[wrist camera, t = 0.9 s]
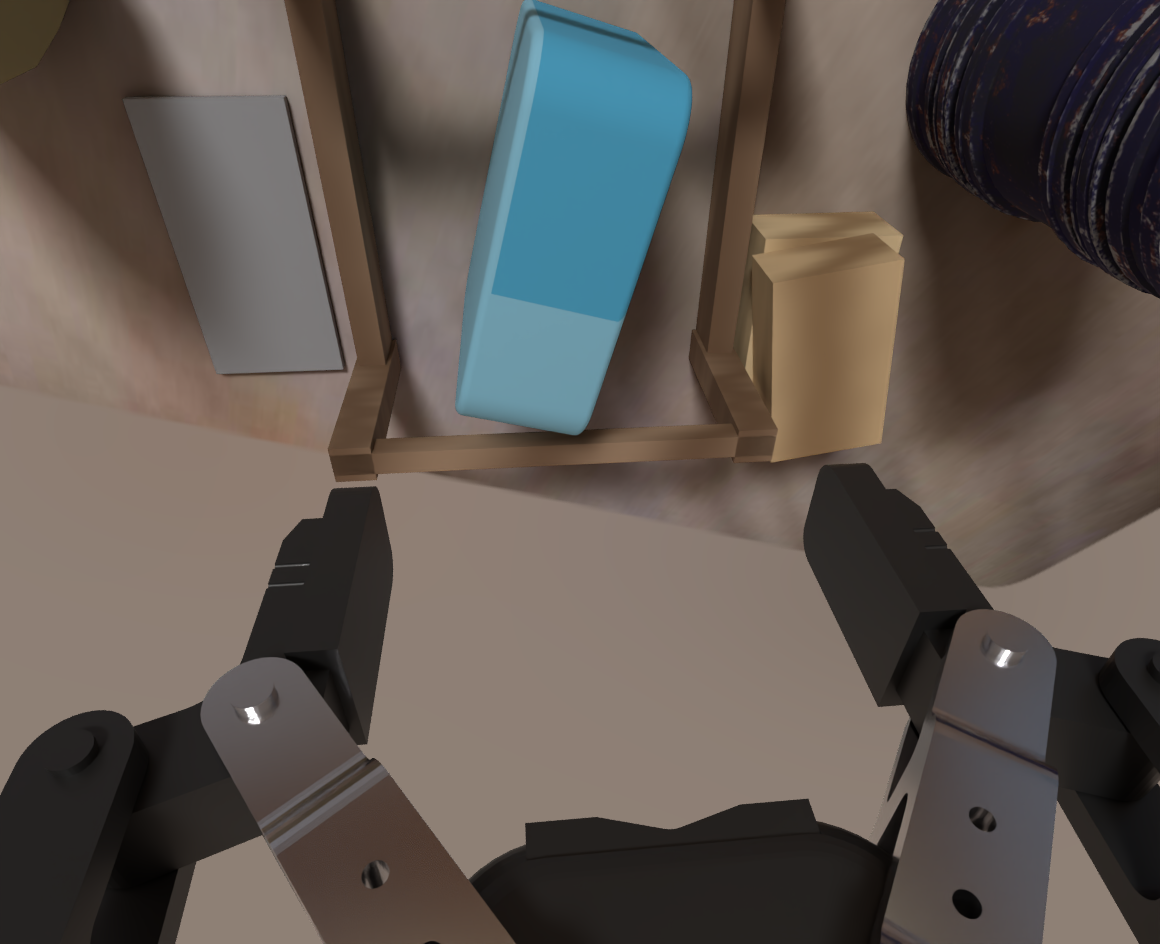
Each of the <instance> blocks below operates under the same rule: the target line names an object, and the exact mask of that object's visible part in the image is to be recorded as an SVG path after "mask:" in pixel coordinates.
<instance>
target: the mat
mask: <svg viewBox="0 0 1160 944" xmlns="http://www.w3.org/2000/svg"><path fill="white" fill-rule="evenodd" d="M122 100H123V103H124V106H125V109H126V112H127V115H128V117H129V120H130V123H131V126H132V129H133V132H134V135H135V138H136V141H137V144H138V147H139V149H140V152H141V155H142V158H143V161H144V164H145V167H146V170H147V173H148V176H149V179H150V181H151V184H152V187H153V190H154V193H155V196H156V199H157V202H158V205H159V208H160V211H161V213H162V216H163V219H164V222H165V225H166V228H167V231H168V234H169V237H170V240H171V243H172V245H173V248H174V251H175V254H176V257H177V260H178V263H179V266H180V269H181V272H182V275H183V277H184V280H185V283H186V286H187V289H188V292H189V295H190V298H191V301H192V304H193V307H194V309H195V312H196V315H197V318H198V321H199V324H200V327H201V330H202V333H203V336H204V339H205V341H206V344H207V347H208V350H209V353H210V356H211V359H212V362H213V365H214V368H215V371H216V373H217V374H232V373H259V372H286V371H314V370H341V369H344V366H345V364H344V360H343V355H342V351H341V346H340V341H339V337H338V332H337V328H336V323H335V319H334V314H333V309H332V305H331V300H330V296H329V291H328V286H327V282H326V277H325V273H324V268H323V263H322V259H321V254H320V250H319V245H318V240H317V236H316V231H315V227H314V222H313V218H312V213H311V208H310V204H309V199H308V195H307V190H306V185H305V181H304V176H303V172H302V167H301V162H300V158H299V153H298V149H297V144H296V139H295V135H294V130H293V126H292V121H291V116H290V112H289V107H288V103H287V98H286V96H178V97H125V98H123V99H122Z"/></svg>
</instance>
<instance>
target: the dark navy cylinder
mask: <svg viewBox="0 0 1160 944" xmlns="http://www.w3.org/2000/svg"><path fill="white" fill-rule="evenodd" d="M906 110H907V118H908V124H909V127H910V131H911V134H912V137H913V139H914V141H915V143H916V145H917V147H918V149H919V151H920V152H921V154H922V155H923V156H924V157H925V158H926V160H927V161H928V162H929V163H930V164H931V165H933V166H934V167H935V168H936V169H938V170H939V171H940V172H942V173H944V174H945V175H947V176H949V177H951V178H953V179H954V180H955V181H956V182H957V183H958V184H959V185H960V186H962V187H963V188H964V189H965V190H967V191H968V192H970V193H972V194H973V195H975V196H976V197H978V198H980V199H982V200H984V201H985V202H986V203H987V204H989V205H990V206H991V207H993V208H994V209H997V210H999V211H1001V212H1003V213H1005V214H1007V215H1012V216H1016V217H1018V218H1022V219H1026V220H1030V221H1034V222H1043V223H1044V224H1046V225H1048V226H1050V227H1051V228H1052V230H1053V231H1054V232H1055V234H1056V235H1057V236H1058V238H1059V239H1060V240H1061V241H1062V242H1064V243H1065V245H1066V246H1067V247H1068V249H1070V250H1071V251H1072V252H1073V253H1074V254H1076V255H1077V256H1078V257H1079V258H1081V259H1082V260H1084V261H1086V262H1088V263H1090V264H1092V265H1094V266H1097V267H1100V268H1101V269H1102V270H1103V271H1104V272H1106V273H1108V274H1110V275H1111V276H1113V277H1114V278H1116V279H1118V280H1120V281H1122V282H1123V283H1125V284H1126V285H1129V286H1131V287H1133V288H1135V289H1137V290H1139V291H1141V292H1144V293H1149V294H1152V295H1154V296H1156V297H1158V298H1160V0H939V1H938V2H937V4H936V6H935V8H934V9H933V11H932V13H931V14H930V16H929V18H928V19H927V21H926V23H925V26H924V28H923V30H922V32H921V35H920V37H919V39H918V41H917V44H916V47H915V50H914V54H913V57H912V60H911V63H910V68H909V74H908V79H907V87H906Z"/></svg>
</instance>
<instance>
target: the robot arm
mask: <svg viewBox="0 0 1160 944" xmlns="http://www.w3.org/2000/svg"><path fill="white" fill-rule="evenodd" d="M803 539H804V549H805V554H806V557H807V559H808V562H809V564H810V566H811V568H812V570H813V572H814V575H815V576H816V579H817V581H818V583H819V585H820V587H821V589H822V591H823V593H824V595H825V597H826V599H827V602H828V604H829V606H830V608H831V610H832V612H833V614H834V616H835V618H836V620H837V622H838V624H839V626H840V628H841V631H842V633H843V634H844V637H845V639H846V641H847V643H848V645H849V647H850V649H851V651H852V653H853V655H854V658H855V659H856V662H857V664H858V666H859V668H860V670H861V672H862V674H863V676H864V678H865V680H866V683H867V685H868V687H869V689H870V691H871V693H872V695H873V697H874V699H875V701H876V703H877V705H878V707H883V706H896V705H904V706H905V708H906V710H907V712H908V714H909V716H910V718H909V720H908V722H907V724H906V726H905V729H904V732H903V735H902V739H901V742H900V745H899V748H898V752H897V755H896V759H895V762H894V765H893V768H892V772H891V775H890V778H889V782H888V785H887V789H886V792H885V795H884V798H883V802H882V805H881V809H880V812H879V815H878V817H877V821H876V823H875V826H874V828H873V831H872V833H871V836H870V838H869V840H866V839H864V838H862V837H861V836H859V835H857V834H854V833H852V832H849V831H847V830H845V829H842V828H839V827H836V826H833V825H829V824H826V823H823V822H818V821H816V819H815V817H814V814H813V811H812V808H811V805H810V803H809V799H800V800H788V801H776V802H765V803H754V804H742V805H738V806H735V807H733V808H730V809H728V810H725V811H722V812H720V813H717V814H715V815H712V816H709V817H707V818H704V819H701V820H699V821H696V822H694V823H691V824H688V825H686V826H683V827H681V828H677V829H662V828H656V827H650V826H645V825H639V824H633V823H627V822H621V821H615V820H610V819H604V818H598V817H592V818H581V819H569V820H557V821H546V822H535V823H526V824H525V827H526V845H523V846H521V847H518V848H516V849H513V850H510V851H509V852H507V853H505V854H503V855H501V856H499V857H497V858H495V859H494V860H492V861H491V862H490V863H488V864H487V865H486V866H484V867H483V868H481V869H480V870H479V871H478V872H476V873H475V874H474V875H473V876H472V877H471V878H470V879H467V878H466V876H465V875H464V873H463V872H462V871H461V869H460V868H459V867H458V865H457V864H456V863H455V861H454V860H453V859H452V857H451V856H450V855H449V853H448V852H447V851H446V849H445V848H444V847H443V845H442V844H441V842H440V841H439V840H438V838H437V837H436V836H435V834H434V833H433V832H432V831H431V829H430V828H429V827H428V825H427V824H426V822H425V821H424V820H423V819H422V817H421V816H420V814H419V813H418V812H417V810H416V809H415V808H414V806H413V805H412V804H411V802H410V801H409V800H408V798H407V797H406V796H405V794H404V793H403V792H402V790H401V789H400V788H399V786H398V785H397V783H396V782H395V781H394V779H393V778H392V777H391V775H390V774H389V773H388V772H387V770H386V769H385V768H384V767H383V766H382V764H381V763H380V762H379V761H378V760H376V759H375V758H372V759H371V760H369V759H368V758H367V757H366V756H365V755H364V754H363V753H362V751H361V750H360V748H359V747H358V746H357V745H363V744H367V742H368V735H369V729H370V723H371V716H372V710H373V703H374V697H375V690H376V684H377V678H378V671H379V665H380V659H381V652H382V646H383V639H384V633H385V627H386V620H387V614H388V608H389V601H390V594H391V588H392V581H393V559H392V550H391V545H390V541H389V536H388V531H387V526H386V522H385V517H384V512H383V507H382V502H381V498H380V494H379V491H378V489H377V487H376V486H375V487H355V488H336V489H332V490H331V492H330V495H329V498H328V502H327V505H326V509H325V512H324V516H323V518H318V519H317V518H316V519H302V520H301V521H300V522H299V523H298V525H297V526H296V527H295V528H294V529H293V530H292V531H291V532H290V533H289V534H288V536H287V537H286V538H285V539H284V540H283V542H282V545H281V548H280V551H279V553H278V556H277V560H276V562H275V569H273V571H272V574H271V577H270V580H269V583H268V585H269V587H268V588H267V589H266V591H265V595H264V597H263V601H262V603H261V606H260V609H259V612H258V615H257V618H256V621H255V624H254V627H253V629H252V633H251V635H250V638H249V641H248V644H247V647H246V650H245V653H244V656H243V659H242V661H241V663H240V665H238V666H237V667H235V668H233V669H231V670H230V671H228V672H227V673H226V674H224V675H223V676H222V677H220V678H219V679H218V680H217V681H216V682H215V684H214V685H213V686H212V687H211V688H210V690H209V691H208V693H207V694H206V697H205V698H204V700H203V701H202V702H200V703H198V704H196V705H194V706H192V707H189V708H187V709H184V710H181V711H178V712H176V713H173V714H169V715H167V716H163V717H160V718H157V719H154V720H152V721H149V722H146V723H143V724H140V725H137V726H134V727H133V726H132V725H131V723H130V721H129V720H128V719H127V718H126V717H125V716H123V715H121V714H119V713H116V712H113V711H106V710H101V711H100V710H98V711H90V712H85V713H82V714H78V715H75V716H72V717H70V718H68V719H65V720H63V721H61V722H60V723H58V724H56V725H54V726H53V727H51V728H50V729H48V730H47V731H45V732H44V733H43V734H41V735H40V736H39V737H38V738H36V740H34V741H33V742H32V743H31V745H29V746H28V747H27V749H26V750H25V751H24V752H23V754H22V755H21V756H20V758H19V760H18V762H17V763H16V765H15V767H14V769H13V771H12V773H11V775H10V777H9V779H8V781H7V783H6V785H5V787H4V789H3V791H2V793H1V795H0V944H175V942H176V938H177V934H178V930H179V927H180V922H181V919H182V915H183V911H184V907H185V903H186V899H187V896H188V892H189V888H190V884H191V880H192V876H193V872H194V868H195V865H196V861H199V860H201V859H204V858H206V857H209V856H211V855H214V854H216V853H219V852H221V851H224V850H226V849H229V848H231V847H234V846H236V845H238V844H241V843H243V842H246V841H248V840H251V839H253V838H255V837H258V836H261V835H263V837H264V839H265V841H266V842H267V844H268V846H269V848H270V850H271V852H272V853H273V855H274V857H275V859H276V860H277V862H278V864H279V866H280V868H281V869H282V871H283V873H284V875H285V876H286V878H287V880H288V882H289V884H290V886H291V887H292V889H293V891H294V893H295V894H296V896H297V898H298V900H299V902H300V903H301V905H302V907H303V909H304V911H305V912H306V914H307V916H308V918H309V920H310V921H311V923H312V925H313V926H314V928H315V930H316V932H317V934H318V936H319V937H320V939H321V941H322V943H323V944H1042V940H1043V930H1044V920H1045V911H1046V901H1047V891H1048V882H1049V872H1050V862H1051V851H1052V842H1053V833H1054V822H1055V813H1056V804H1057V801H1058V802H1059V804H1060V806H1061V808H1062V809H1063V811H1064V813H1065V814H1066V816H1067V818H1068V820H1069V821H1070V823H1071V825H1072V827H1073V829H1074V830H1075V832H1076V834H1077V835H1078V837H1079V839H1080V841H1081V843H1082V844H1083V846H1084V848H1085V850H1086V851H1087V853H1088V855H1089V857H1090V858H1091V860H1092V862H1093V864H1094V865H1095V867H1096V869H1097V871H1098V872H1099V874H1100V876H1101V878H1102V879H1103V881H1104V883H1105V885H1106V886H1107V888H1108V890H1109V892H1110V894H1111V895H1112V897H1113V899H1114V901H1115V902H1116V904H1117V906H1118V907H1119V909H1120V911H1121V913H1122V914H1123V916H1124V918H1125V920H1126V922H1127V923H1128V925H1129V927H1130V929H1131V930H1132V932H1133V934H1134V936H1135V937H1136V939H1137V941H1138V943H1139V944H1160V786H1159V785H1158V784H1157V783H1158V782H1159V781H1160V641H1158V640H1153V639H1146V638H1135V639H1130V640H1126V641H1124V642H1122V643H1121V644H1120V645H1119V646H1118V647H1117V648H1116V649H1115V651H1114V652H1113V654H1112V655H1111V656H1110V658H1105V657H1099V656H1093V655H1089V654H1084V653H1078V652H1073V651H1068V650H1062V649H1058V648H1054V647H1052V646H1051V644H1050V643H1049V642H1048V640H1047V639H1046V638H1045V637H1044V636H1043V635H1042V634H1041V633H1040V632H1039V631H1038V630H1037V629H1036V628H1034V627H1033V626H1031V625H1030V624H1029V623H1027V622H1025V621H1024V620H1022V619H1020V618H1018V617H1015V616H1013V615H1011V614H1007V613H1005V612H1001V611H996V610H994V609H993V608H992V607H991V605H990V604H989V602H988V601H987V600H986V599H985V597H984V595H983V594H982V593H981V591H980V590H979V588H978V587H977V586H976V584H975V583H974V581H973V580H972V579H971V577H970V576H969V574H968V573H967V572H966V570H965V569H964V567H963V566H962V565H961V563H960V562H959V560H958V559H957V558H956V556H955V555H954V553H953V552H952V551H951V549H947V544H946V542H945V541H944V540H943V538H942V537H941V535H940V534H939V533H938V532H935V527H934V526H933V524H932V523H931V521H930V520H929V519H928V517H927V516H926V514H925V513H924V512H923V510H922V509H921V507H920V506H918V505H917V504H916V503H914V502H913V501H912V500H910V499H909V498H908V497H906V496H905V495H904V494H902V493H901V492H899V491H898V490H897V489H885V487H884V486H883V484H882V483H881V481H880V480H879V478H878V477H877V475H876V474H875V472H874V471H873V469H872V468H871V467H870V466H869V465H868V464H866V463H856V464H836V465H825V466H823V467H822V468H821V469H820V471H819V474H818V477H817V481H816V485H815V489H814V492H813V496H812V500H811V504H810V507H809V511H808V515H807V519H806V522H805V527H804V535H803Z"/></svg>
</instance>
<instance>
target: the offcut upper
mask: <svg viewBox="0 0 1160 944" xmlns="http://www.w3.org/2000/svg"><path fill="white" fill-rule="evenodd" d="M904 260H905V259H904V258H903V257H901V256H900V255H899V254H898V253H897V252H895V251H894V250H893V249H892V248H891V247H889V246H888V245H887V244H886V243H885V242H883V241H882V240H881V239H880V238H879V237H878V236H876V235H875V234H874V233H870V234H865V235H859V236H854V237H848V238H843V239H837V240H832V241H827V242H821V243H816V244H810V245H805V246H799V247H794V248H789V249H783V250H778V251H772V252H767V253H761V254H756V255H752V326H753V384H754V386H755V388H756V390H757V391H758V393H759V395H760V397H761V399H762V401H763V403H764V404H765V406H766V408H767V410H768V412H769V414H770V415H771V417H772V419H773V421H774V423H775V425H776V426H777V428H778V432H777V437H776V441H775V446H774V451H773V455H772V460H771V461H770V462H771V463H772V462H777V461H783V460H789V459H794V458H800V457H806V456H811V455H817V454H823V453H828V452H834V451H840V450H845V449H851V448H856V447H862V446H868V445H873V444H879V443H881V440H882V432H883V424H884V416H885V408H886V401H887V393H888V385H889V377H890V369H891V362H892V354H893V346H894V338H895V331H896V323H897V315H898V307H899V299H900V292H901V284H902V276H903V268H904Z"/></svg>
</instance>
